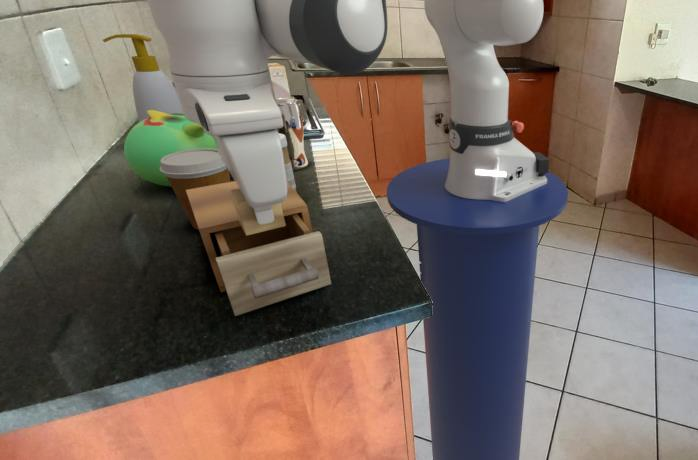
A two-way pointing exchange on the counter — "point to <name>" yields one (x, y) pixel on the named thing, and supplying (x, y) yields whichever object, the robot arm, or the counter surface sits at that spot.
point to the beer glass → (293, 131)
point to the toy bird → (162, 143)
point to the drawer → (271, 264)
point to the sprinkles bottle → (287, 163)
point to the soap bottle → (150, 82)
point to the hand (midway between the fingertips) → (259, 212)
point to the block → (248, 217)
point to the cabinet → (230, 215)
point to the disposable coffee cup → (193, 173)
